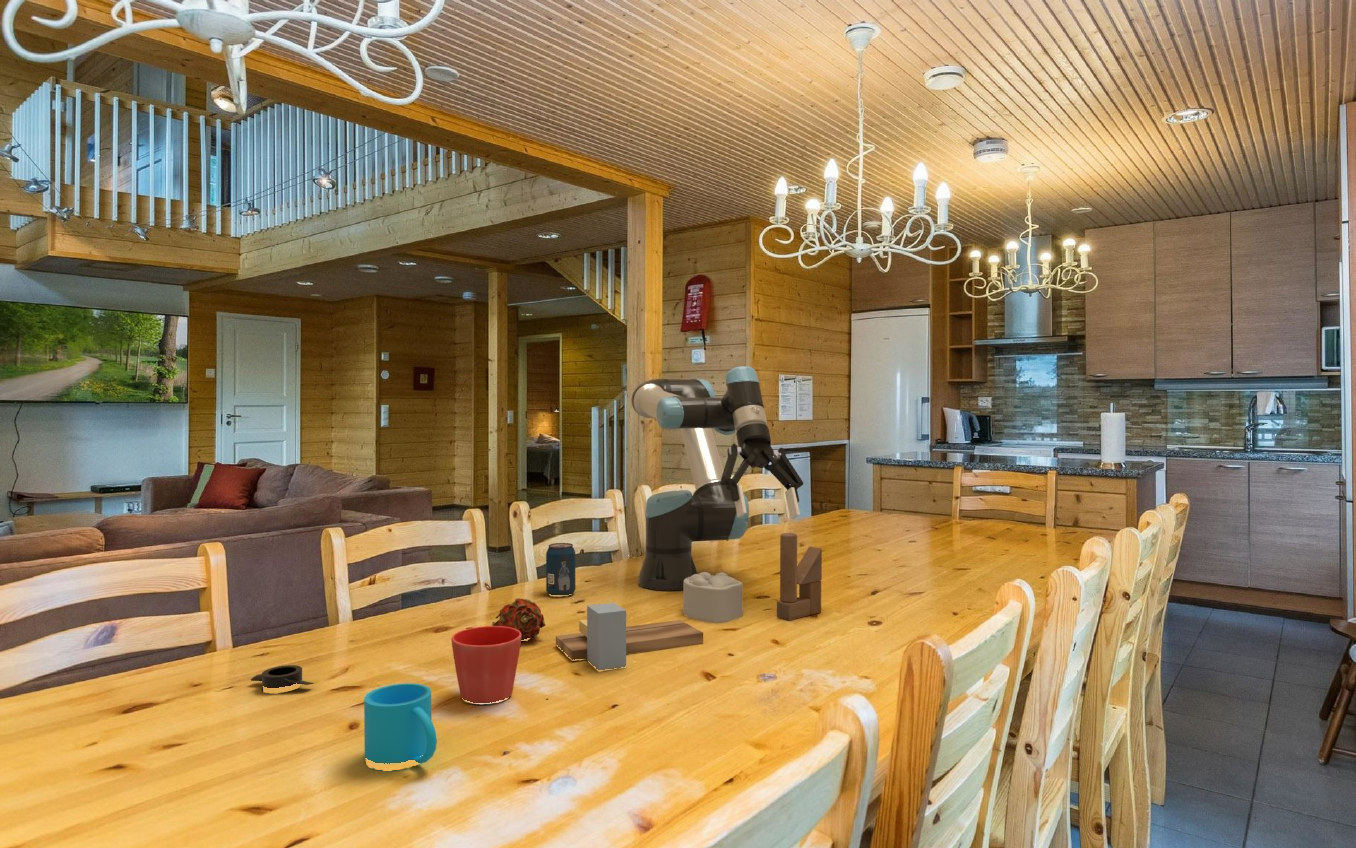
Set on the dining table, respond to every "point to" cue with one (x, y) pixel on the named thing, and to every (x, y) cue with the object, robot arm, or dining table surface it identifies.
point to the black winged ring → (281, 676)
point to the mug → (399, 724)
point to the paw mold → (712, 597)
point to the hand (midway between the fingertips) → (769, 516)
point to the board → (638, 638)
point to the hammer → (605, 635)
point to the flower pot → (486, 662)
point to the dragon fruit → (522, 617)
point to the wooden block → (799, 580)
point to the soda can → (560, 569)
